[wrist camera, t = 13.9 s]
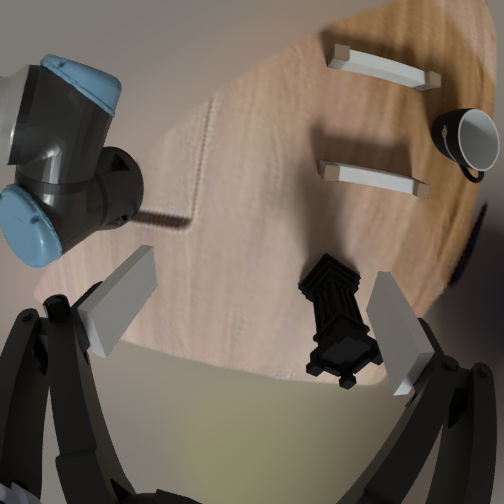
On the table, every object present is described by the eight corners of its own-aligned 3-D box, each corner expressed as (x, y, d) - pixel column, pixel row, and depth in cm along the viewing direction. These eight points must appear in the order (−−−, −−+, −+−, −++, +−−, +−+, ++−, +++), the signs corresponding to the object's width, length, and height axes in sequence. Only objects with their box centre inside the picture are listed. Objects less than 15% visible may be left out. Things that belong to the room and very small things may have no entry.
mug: (417, 117, 33) (449, 116, 24) (453, 103, 31) (488, 102, 22) (440, 184, 37) (472, 199, 28) (474, 167, 35) (508, 179, 25)
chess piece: (360, 275, 46) (392, 356, 28) (332, 306, 49) (348, 392, 31) (325, 252, 45) (347, 332, 27) (298, 286, 48) (301, 373, 30)
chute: (317, 172, 40) (323, 179, 34) (327, 55, 32) (335, 43, 26) (410, 189, 38) (427, 198, 33) (421, 80, 30) (440, 75, 25)
